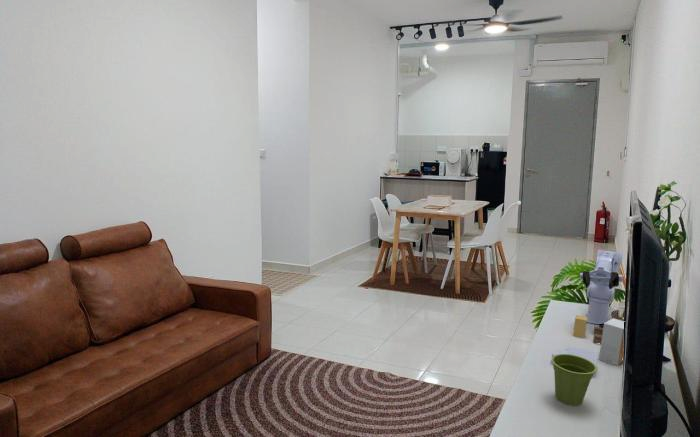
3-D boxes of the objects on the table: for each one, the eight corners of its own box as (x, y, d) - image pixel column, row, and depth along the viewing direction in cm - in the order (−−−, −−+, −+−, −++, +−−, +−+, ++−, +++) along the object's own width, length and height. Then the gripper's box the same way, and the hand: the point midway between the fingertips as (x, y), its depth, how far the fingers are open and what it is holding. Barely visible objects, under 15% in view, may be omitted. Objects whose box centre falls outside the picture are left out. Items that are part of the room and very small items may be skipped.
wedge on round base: (594, 365, 171) (552, 356, 176) (597, 346, 169) (555, 337, 175) (594, 377, 163) (550, 367, 168) (597, 357, 161) (552, 347, 167)
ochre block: (573, 332, 198) (575, 314, 197) (584, 334, 197) (587, 317, 195) (572, 335, 195) (575, 318, 194) (584, 338, 193) (587, 320, 192)
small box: (617, 366, 171) (623, 329, 169) (598, 359, 176) (603, 323, 173) (626, 359, 177) (632, 323, 174) (607, 353, 181) (612, 317, 179)
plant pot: (540, 399, 147) (545, 362, 145) (555, 385, 156) (560, 350, 154) (583, 416, 140) (589, 377, 138) (597, 400, 149) (602, 363, 147)
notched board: (593, 332, 199) (594, 326, 199) (615, 336, 196) (616, 330, 196) (593, 342, 189) (594, 336, 189) (616, 347, 186) (617, 340, 186)
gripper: (581, 261, 204) (576, 274, 193) (623, 263, 196) (620, 276, 185) (582, 278, 206) (577, 292, 195) (623, 280, 198) (620, 294, 187)
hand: (598, 285), depth 190 cm, fingers open, 7 cm apart
